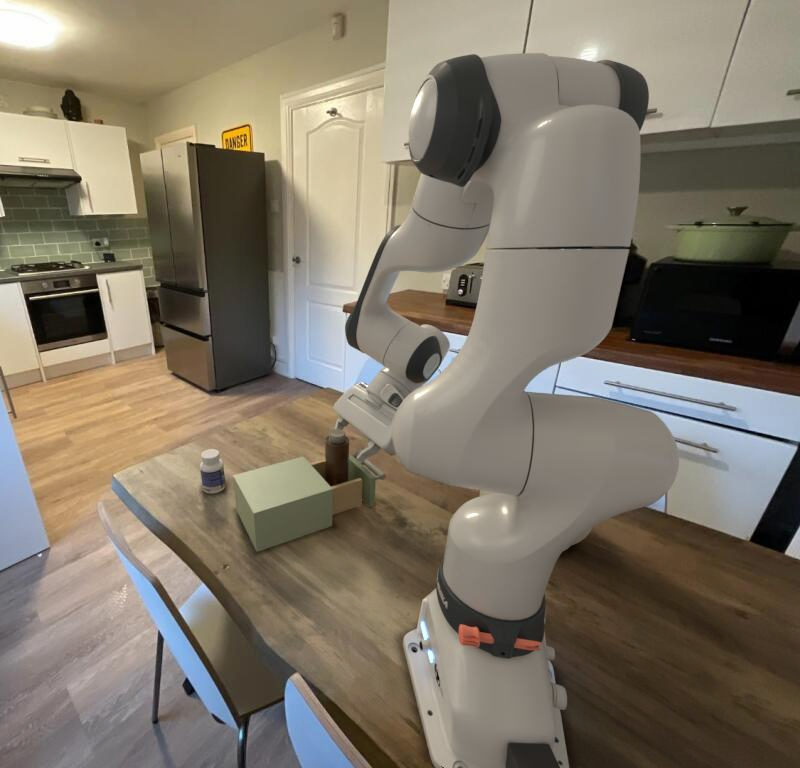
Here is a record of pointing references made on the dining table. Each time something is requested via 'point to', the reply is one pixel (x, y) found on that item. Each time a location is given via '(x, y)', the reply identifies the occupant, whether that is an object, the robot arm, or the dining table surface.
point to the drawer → (353, 485)
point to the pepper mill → (336, 457)
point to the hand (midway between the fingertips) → (345, 448)
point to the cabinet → (282, 502)
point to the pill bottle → (212, 471)
